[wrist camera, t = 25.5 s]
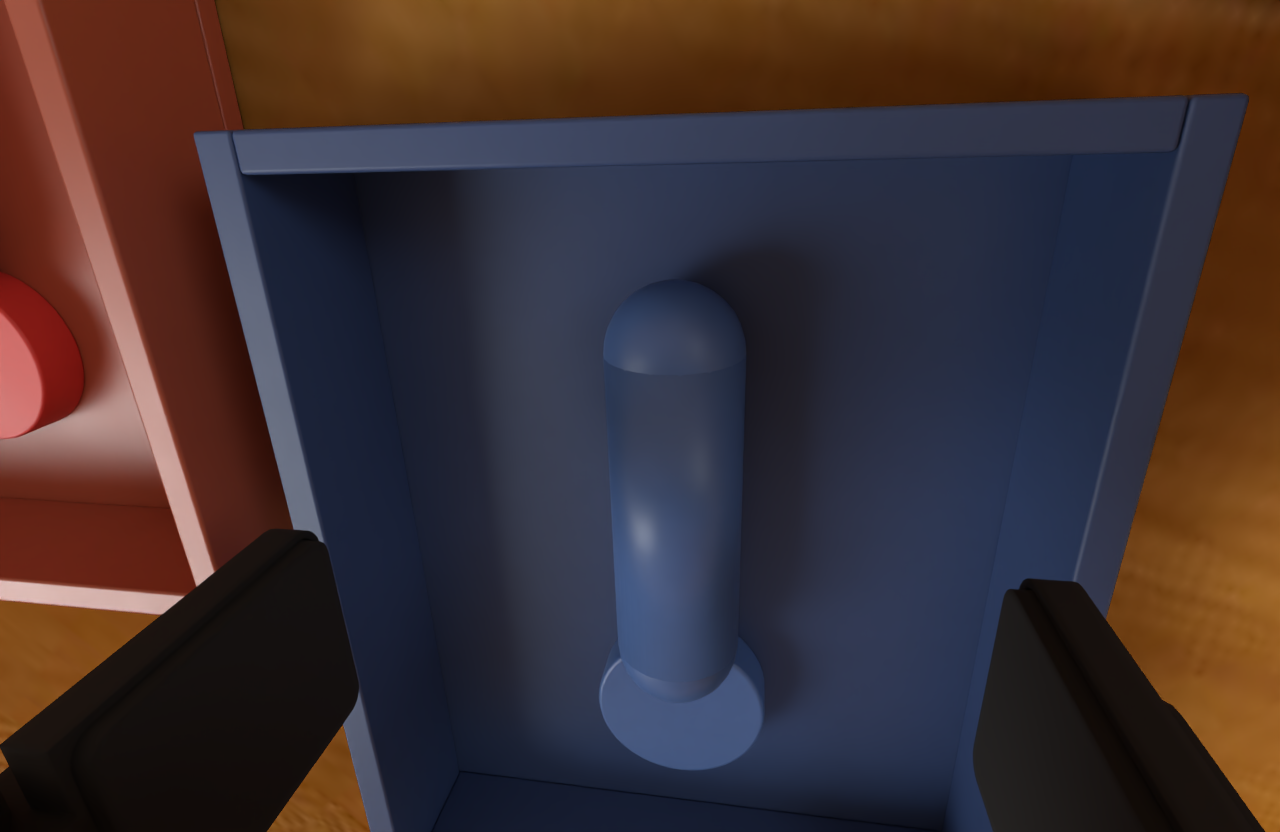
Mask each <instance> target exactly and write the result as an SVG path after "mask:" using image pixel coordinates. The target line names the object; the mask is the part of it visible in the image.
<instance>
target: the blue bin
mask: <svg viewBox="0 0 1280 832" xmlns="http://www.w3.org/2000/svg"><path fill="white" fill-rule="evenodd" d="M1248 102H1249V96H1248V95H1246V94H1244V93H1230V94H1202V95H1186V96H1183V95H1175V96H1148V97H1121V98H1093V99H1066V100H1039V101H1011V102H984V103H957V104H929V105H902V106H875V107H847V108H820V109H793V110H766V111H738V112H711V113H684V114H656V115H629V116H602V117H574V118H547V119H520V120H492V121H465V122H438V123H411V124H383V125H356V126H329V127H301V128H274V129H247V130H218V131H197V132H195V133H194V140H195V143H196V147H197V151H198V155H199V159H200V163H201V167H202V171H203V175H204V179H205V183H206V187H207V191H208V195H209V198H210V202H211V206H212V210H213V214H214V218H215V222H216V226H217V230H218V234H219V238H220V242H221V246H222V250H223V254H224V257H225V261H226V265H227V269H228V273H229V277H230V281H231V285H232V289H233V293H234V297H235V301H236V305H237V309H238V313H239V316H240V320H241V324H242V328H243V332H244V336H245V340H246V344H247V348H248V352H249V356H250V360H251V364H252V368H253V372H254V375H255V379H256V383H257V387H258V391H259V395H260V399H261V403H262V407H263V411H264V415H265V419H266V423H267V427H268V431H269V434H270V438H271V442H272V446H273V450H274V454H275V458H276V462H277V466H278V470H279V474H280V478H281V482H282V486H283V490H284V493H285V497H286V501H287V505H288V509H289V513H290V517H291V521H292V525H293V529H294V530H307V531H311V532H313V533H314V534H315V535H316V536H317V537H318V540H319V541H320V542H323V543H324V544H325V545H326V547H327V549H328V552H329V556H330V561H331V565H332V569H333V574H334V578H335V582H336V587H337V591H338V595H339V600H340V604H341V608H342V613H343V617H344V621H345V625H346V630H347V634H348V638H349V643H350V647H351V651H352V656H353V660H354V664H355V669H356V673H357V677H358V681H359V694H358V699H357V702H356V704H355V707H354V709H353V710H352V712H351V713H350V715H349V716H348V718H347V719H346V720H345V722H344V723H343V726H344V729H345V733H346V737H347V741H348V745H349V749H350V753H351V757H352V761H353V765H354V769H355V773H356V777H357V781H358V785H359V788H360V792H361V796H362V800H363V804H364V808H365V812H366V816H367V820H368V824H369V828H370V832H993V830H992V827H991V824H990V821H989V818H988V815H987V812H986V809H985V806H984V803H983V799H982V796H981V793H980V790H979V787H978V784H977V781H976V777H975V773H974V767H973V746H974V741H975V736H976V731H977V726H978V721H979V716H980V711H981V706H982V701H983V697H984V692H985V687H986V682H987V677H988V672H989V667H990V662H991V657H992V652H993V647H994V642H995V637H996V632H997V627H998V622H999V617H1000V612H1001V607H1002V602H1003V598H1004V595H1005V593H1006V591H1007V590H1008V589H1019V587H1020V585H1021V583H1022V582H1023V580H1025V579H1027V578H1030V579H1046V580H1061V581H1074V582H1077V583H1079V584H1080V585H1081V586H1082V587H1083V588H1084V589H1085V591H1086V592H1087V594H1088V595H1089V597H1090V598H1091V599H1092V601H1093V602H1094V604H1095V605H1096V607H1097V608H1098V609H1099V611H1100V612H1101V614H1102V615H1103V617H1104V618H1105V619H1106V617H1107V613H1108V610H1109V606H1110V602H1111V599H1112V595H1113V591H1114V588H1115V584H1116V581H1117V577H1118V573H1119V570H1120V566H1121V562H1122V559H1123V555H1124V551H1125V548H1126V544H1127V541H1128V537H1129V533H1130V530H1131V526H1132V522H1133V519H1134V515H1135V512H1136V508H1137V504H1138V501H1139V497H1140V493H1141V490H1142V486H1143V483H1144V479H1145V475H1146V472H1147V468H1148V464H1149V461H1150V457H1151V454H1152V450H1153V446H1154V443H1155V439H1156V435H1157V432H1158V428H1159V425H1160V421H1161V417H1162V414H1163V410H1164V406H1165V403H1166V399H1167V395H1168V392H1169V388H1170V385H1171V381H1172V377H1173V374H1174V370H1175V366H1176V363H1177V359H1178V356H1179V352H1180V348H1181V345H1182V341H1183V337H1184V334H1185V330H1186V327H1187V323H1188V319H1189V316H1190V312H1191V308H1192V305H1193V301H1194V298H1195V294H1196V290H1197V287H1198V283H1199V279H1200V276H1201V272H1202V269H1203V265H1204V261H1205V258H1206V254H1207V250H1208V247H1209V243H1210V240H1211V236H1212V232H1213V229H1214V225H1215V221H1216V218H1217V214H1218V210H1219V207H1220V203H1221V200H1222V196H1223V192H1224V189H1225V185H1226V181H1227V178H1228V174H1229V171H1230V167H1231V163H1232V160H1233V156H1234V152H1235V149H1236V145H1237V142H1238V138H1239V134H1240V131H1241V127H1242V123H1243V120H1244V116H1245V113H1246V109H1247V105H1248ZM672 279H677V280H686V281H690V282H695V283H699V284H701V285H703V286H705V287H707V288H709V289H711V290H713V291H714V292H716V293H717V294H718V295H720V296H721V297H722V298H723V299H724V300H726V302H727V303H728V304H729V305H730V306H731V308H732V309H733V310H734V311H735V313H736V315H737V317H738V319H739V321H740V323H741V326H742V329H743V333H744V336H745V341H746V385H745V419H744V453H743V487H742V521H741V554H740V588H739V622H738V636H739V637H740V638H741V639H742V640H743V641H744V642H745V643H746V644H747V645H748V646H749V648H750V649H751V650H752V651H753V653H754V654H755V656H756V658H757V660H758V661H759V663H760V666H761V669H762V671H763V676H764V686H765V716H764V723H763V727H762V730H761V733H760V735H759V736H758V738H757V740H756V742H755V743H754V744H753V746H752V747H751V748H750V749H749V750H748V751H747V752H746V753H745V754H744V755H742V756H741V757H739V758H738V759H736V760H734V761H732V762H731V763H728V764H726V765H723V766H720V767H716V768H712V769H706V770H679V769H673V768H668V767H665V766H661V765H658V764H655V763H653V762H650V761H648V760H646V759H644V758H642V757H640V756H638V755H637V754H635V753H633V752H632V751H631V750H629V749H628V748H627V747H625V746H624V745H623V744H622V743H621V742H620V741H619V740H618V739H617V738H616V737H615V736H614V734H613V733H612V732H611V730H610V729H609V727H608V726H607V724H606V722H605V720H604V718H603V715H602V712H601V708H600V702H599V688H600V683H601V679H602V676H603V673H604V669H605V666H606V663H607V659H608V656H609V653H610V651H611V649H612V647H613V645H614V643H615V642H616V641H617V639H618V631H617V612H616V593H615V574H614V555H613V535H612V516H611V497H610V478H609V459H608V439H607V420H606V401H605V382H604V363H603V347H604V338H605V335H606V331H607V327H608V325H609V323H610V321H611V319H612V317H613V315H614V313H615V311H616V310H617V309H618V308H619V306H620V305H621V304H622V302H623V301H625V300H626V299H627V298H628V297H629V296H631V295H632V294H633V293H634V292H635V291H637V290H639V289H641V288H643V287H645V286H647V285H649V284H652V283H656V282H660V281H664V280H672Z"/></svg>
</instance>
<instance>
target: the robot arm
mask: <svg viewBox="0 0 1280 832" xmlns="http://www.w3.org/2000/svg"><path fill="white" fill-rule="evenodd" d="M358 694H359V681H358V677H357V673H356V669H355V664H354V660H353V656H352V651H351V647H350V643H349V638H348V634H347V630H346V625H345V621H344V617H343V613H342V608H341V604H340V600H339V595H338V591H337V587H336V582H335V578H334V574H333V569H332V565H331V561H330V556H329V552H328V549H327V547H326V545H325V544H324V543H323V542H320V541H319V540H318V537H317V536H316V535H315V534H314V533H313V532H311V531H307V530H292V529H277V528H276V529H269V530H268V531H266V532H264V533H263V534H262V535H260V536H259V537H258V538H257V539H255V540H254V541H253V542H252V543H250V544H249V545H248V546H247V547H245V548H244V549H243V550H242V551H240V552H239V553H238V554H237V555H235V556H234V557H233V558H232V559H230V560H229V561H228V562H227V563H225V564H224V565H223V566H222V567H220V568H219V569H218V570H217V571H215V572H214V573H213V574H212V575H211V576H209V577H208V578H207V579H206V580H204V581H203V582H202V583H201V584H199V585H198V586H197V587H196V588H194V589H193V590H192V591H191V592H189V593H188V594H187V595H186V596H184V597H183V598H182V599H181V600H179V601H178V602H177V603H176V604H174V605H173V606H172V607H171V608H169V609H168V610H167V611H166V612H164V613H163V614H162V615H161V616H160V617H158V618H157V619H156V620H155V621H153V622H152V623H151V624H150V625H148V626H147V627H146V628H145V629H143V630H142V631H141V632H140V633H138V634H137V635H136V636H135V637H133V638H132V639H131V640H130V641H128V642H127V643H126V644H125V645H123V646H122V647H121V648H120V649H118V650H117V651H116V652H115V653H113V654H112V655H111V656H110V657H109V658H107V659H106V660H105V661H104V662H102V663H101V664H100V665H99V666H97V667H96V668H95V669H94V670H92V671H91V672H90V673H89V674H87V675H86V676H85V677H84V678H82V679H81V680H80V681H79V682H77V683H76V684H75V685H74V686H72V687H71V688H70V689H69V690H67V691H66V692H65V693H64V694H62V695H61V696H60V697H59V698H58V699H56V700H55V701H54V702H53V703H51V704H50V705H49V706H48V707H46V708H45V709H44V710H43V711H41V712H40V713H39V714H38V715H36V716H35V717H34V718H33V719H31V720H30V721H29V722H28V723H26V724H25V725H24V726H23V727H21V728H20V729H19V730H18V731H16V732H15V733H14V734H13V735H12V736H10V737H9V738H8V739H7V740H5V741H4V742H3V743H2V744H0V748H1V750H2V752H3V754H4V756H5V758H6V760H7V762H8V764H9V767H8V768H7V769H6V770H4V771H3V772H2V773H1V774H0V832H267V830H268V829H269V828H270V826H271V825H272V823H273V822H274V821H275V819H276V818H277V816H278V815H279V814H280V812H281V811H282V809H283V808H284V806H285V805H286V804H287V802H288V801H289V799H290V798H291V797H292V795H293V794H294V792H295V791H296V790H297V788H298V787H299V785H300V784H301V783H302V781H303V780H304V778H305V777H306V775H307V774H308V773H309V771H310V770H311V768H312V767H313V766H314V764H315V763H316V761H317V760H318V759H319V757H320V756H321V754H322V753H323V751H324V750H325V749H326V747H327V746H328V744H329V743H330V742H331V740H332V739H333V737H334V736H335V735H336V733H337V732H338V730H339V729H340V727H341V726H342V725H343V723H344V722H345V720H346V719H347V718H348V716H349V715H350V713H351V712H352V710H353V709H354V707H355V704H356V702H357V699H358ZM973 767H974V773H975V777H976V781H977V784H978V787H979V790H980V793H981V796H982V799H983V803H984V806H985V809H986V812H987V815H988V818H989V821H990V824H991V827H992V830H993V832H1265V831H1264V829H1263V828H1262V827H1261V825H1260V824H1259V823H1258V821H1257V820H1256V818H1255V817H1254V816H1253V814H1252V813H1251V811H1250V810H1249V809H1248V807H1247V806H1246V804H1245V803H1244V802H1243V800H1242V799H1241V797H1240V796H1239V795H1238V793H1237V792H1236V790H1235V789H1234V788H1233V786H1232V785H1231V783H1230V782H1229V781H1228V779H1227V778H1226V777H1225V775H1224V774H1223V772H1222V771H1221V770H1220V768H1219V767H1218V765H1217V764H1216V763H1215V761H1214V760H1213V758H1212V757H1211V756H1210V754H1209V753H1208V751H1207V750H1206V749H1205V747H1204V746H1203V744H1202V743H1201V742H1200V740H1199V739H1198V737H1197V736H1196V735H1195V733H1194V732H1193V731H1192V729H1191V728H1190V726H1189V725H1188V724H1187V722H1186V721H1185V719H1184V718H1183V717H1182V716H1181V714H1180V713H1179V712H1178V711H1177V710H1176V709H1175V708H1174V707H1173V706H1172V705H1171V704H1169V703H1167V702H1165V701H1163V700H1162V699H1161V698H1160V696H1159V695H1158V693H1157V692H1156V691H1155V689H1154V688H1153V686H1152V685H1151V683H1150V682H1149V681H1148V679H1147V678H1146V676H1145V675H1144V673H1143V672H1142V671H1141V669H1140V668H1139V666H1138V665H1137V664H1136V662H1135V661H1134V659H1133V658H1132V656H1131V655H1130V654H1129V652H1128V651H1127V649H1126V648H1125V646H1124V645H1123V644H1122V642H1121V641H1120V639H1119V638H1118V636H1117V635H1116V634H1115V632H1114V631H1113V629H1112V628H1111V627H1110V625H1109V624H1108V622H1107V621H1106V619H1105V618H1104V617H1103V615H1102V614H1101V612H1100V611H1099V609H1098V608H1097V607H1096V605H1095V604H1094V602H1093V601H1092V599H1091V598H1090V597H1089V595H1088V594H1087V592H1086V591H1085V589H1084V588H1083V587H1082V586H1081V585H1080V584H1079V583H1077V582H1074V581H1061V580H1046V579H1030V578H1027V579H1025V580H1023V582H1022V583H1021V585H1020V587H1019V589H1008V590H1007V591H1006V593H1005V595H1004V598H1003V602H1002V607H1001V612H1000V617H999V622H998V627H997V632H996V637H995V642H994V647H993V652H992V657H991V662H990V667H989V672H988V677H987V682H986V687H985V692H984V697H983V701H982V706H981V711H980V716H979V721H978V726H977V731H976V736H975V741H974V746H973Z"/></svg>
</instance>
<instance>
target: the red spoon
mask: <svg viewBox="0 0 1280 832" xmlns="http://www.w3.org/2000/svg"><path fill="white" fill-rule="evenodd" d="M83 389H84V367H83V362H82V358H81V354H80V351H79V348H78V346H77V343H76V341H75V339H74V337H73V335H72V333H71V331H70V329H69V328H68V326H67V325H66V323H65V322H64V320H63V319H62V317H61V316H60V315H59V314H58V312H57V311H56V310H55V309H54V308H53V306H52V305H51V304H50V303H49V302H48V301H47V300H46V299H45V298H44V297H42V296H41V295H40V294H39V293H38V292H37V291H35V290H34V289H33V288H31V287H30V286H29V285H27V284H25V283H24V282H22V281H21V280H19V279H17V278H15V277H13V276H11V275H8V274H6V273H3V272H0V439H12V438H17V437H20V436H23V435H25V434H28V433H30V432H33V431H35V430H37V429H40V428H42V427H45V426H47V425H49V424H52V423H54V422H57V421H59V420H61V419H63V418H65V417H66V416H68V415H69V414H70V413H71V412H72V411H73V410H74V409H75V407H76V406H77V404H78V403H79V401H80V398H81V396H82V392H83Z"/></svg>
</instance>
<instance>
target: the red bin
mask: <svg viewBox="0 0 1280 832" xmlns="http://www.w3.org/2000/svg"><path fill="white" fill-rule="evenodd" d="M218 130H244V129H243V124H242V120H241V115H240V111H239V107H238V102H237V98H236V93H235V89H234V85H233V80H232V76H231V72H230V67H229V63H228V58H227V54H226V50H225V45H224V41H223V37H222V32H221V28H220V23H219V19H218V15H217V10H216V6H215V1H214V0H0V272H3V273H6V274H8V275H11V276H13V277H15V278H17V279H19V280H21V281H22V282H24V283H25V284H27V285H29V286H30V287H31V288H33V289H34V290H35V291H37V292H38V293H39V294H40V295H41V296H42V297H44V298H45V299H46V300H47V301H48V302H49V303H50V304H51V305H52V306H53V308H54V309H55V310H56V311H57V312H58V314H59V315H60V316H61V317H62V319H63V320H64V322H65V323H66V325H67V326H68V328H69V329H70V331H71V333H72V335H73V337H74V339H75V341H76V343H77V346H78V348H79V351H80V354H81V358H82V362H83V367H84V389H83V392H82V396H81V398H80V401H79V403H78V404H77V406H76V407H75V409H74V410H73V411H72V412H71V413H70V414H69V415H68V416H66V417H65V418H63V419H61V420H59V421H57V422H54V423H52V424H49V425H47V426H45V427H42V428H40V429H37V430H35V431H33V432H30V433H28V434H25V435H23V436H20V437H17V438H12V439H0V600H3V601H14V602H24V603H35V604H46V605H56V606H67V607H78V608H88V609H99V610H110V611H120V612H131V613H141V614H152V615H162V614H163V613H164V612H166V611H167V610H168V609H169V608H171V607H172V606H173V605H174V604H176V603H177V602H178V601H179V600H181V599H182V598H183V597H184V596H186V595H187V594H188V593H189V592H191V591H192V590H193V589H194V588H196V587H197V586H198V585H199V584H201V583H202V582H203V581H204V580H206V579H207V578H208V577H209V576H211V575H212V574H213V573H214V572H215V571H217V570H218V569H219V568H220V567H222V566H223V565H224V564H225V563H227V562H228V561H229V560H230V559H232V558H233V557H234V556H235V555H237V554H238V553H239V552H240V551H242V550H243V549H244V548H245V547H247V546H248V545H249V544H250V543H252V542H253V541H254V540H255V539H257V538H258V537H259V536H260V535H262V534H263V533H264V532H266V531H268V530H269V529H276V528H277V529H292V530H294V529H293V525H292V521H291V517H290V513H289V509H288V505H287V501H286V497H285V493H284V490H283V486H282V482H281V478H280V474H279V470H278V466H277V462H276V458H275V454H274V450H273V446H272V442H271V438H270V434H269V431H268V427H267V423H266V419H265V415H264V411H263V407H262V403H261V399H260V395H259V391H258V387H257V383H256V379H255V375H254V372H253V368H252V364H251V360H250V356H249V352H248V348H247V344H246V340H245V336H244V332H243V328H242V324H241V320H240V316H239V313H238V309H237V305H236V301H235V297H234V293H233V289H232V285H231V281H230V277H229V273H228V269H227V265H226V261H225V257H224V254H223V250H222V246H221V242H220V238H219V234H218V230H217V226H216V222H215V218H214V214H213V210H212V206H211V202H210V198H209V195H208V191H207V187H206V183H205V179H204V175H203V171H202V167H201V163H200V159H199V155H198V151H197V147H196V143H195V140H194V133H195V132H197V131H218Z"/></svg>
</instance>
